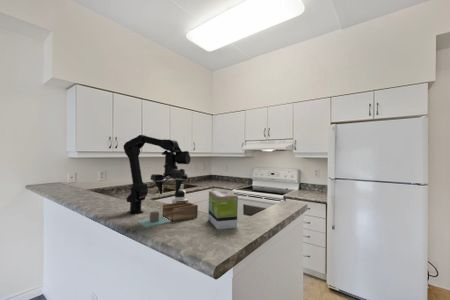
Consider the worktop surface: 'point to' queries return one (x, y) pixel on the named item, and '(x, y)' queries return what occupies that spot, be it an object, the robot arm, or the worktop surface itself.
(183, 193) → the medicine bottle
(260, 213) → the worktop surface
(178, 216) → the box
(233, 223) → the tea box
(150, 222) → the cover plate
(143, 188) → the robot arm
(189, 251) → the worktop surface
